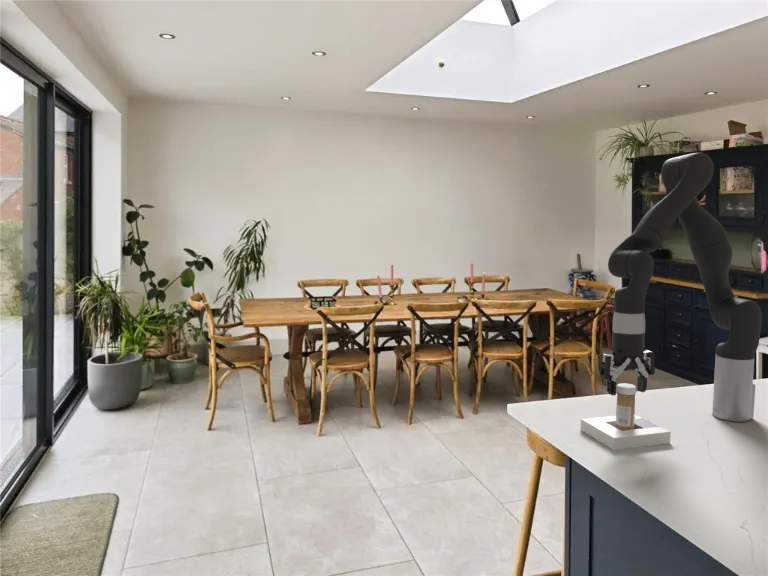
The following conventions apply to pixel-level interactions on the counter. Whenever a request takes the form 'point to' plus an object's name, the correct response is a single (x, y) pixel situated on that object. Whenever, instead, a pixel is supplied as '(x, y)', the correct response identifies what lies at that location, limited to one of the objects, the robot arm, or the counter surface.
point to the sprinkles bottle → (625, 406)
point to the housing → (625, 433)
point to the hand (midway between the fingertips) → (626, 393)
